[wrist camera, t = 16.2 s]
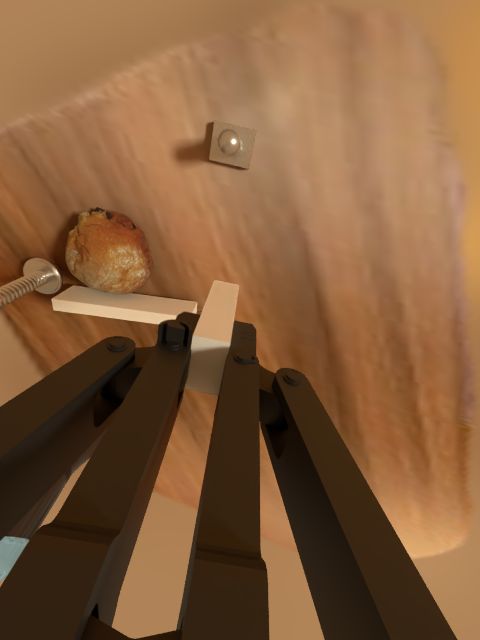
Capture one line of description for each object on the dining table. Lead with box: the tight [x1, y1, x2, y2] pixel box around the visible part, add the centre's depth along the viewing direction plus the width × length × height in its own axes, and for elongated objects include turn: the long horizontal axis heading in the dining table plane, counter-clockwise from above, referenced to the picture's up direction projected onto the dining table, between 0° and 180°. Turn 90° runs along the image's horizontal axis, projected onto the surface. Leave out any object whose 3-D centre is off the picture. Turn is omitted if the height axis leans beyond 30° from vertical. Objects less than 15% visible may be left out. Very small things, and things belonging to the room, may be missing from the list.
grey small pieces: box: [196, 120, 256, 315], centre depth 34 cm, size 4×26×5 cm, turn 168°
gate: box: [52, 285, 197, 324], centre depth 37 cm, size 2×17×5 cm, turn 83°
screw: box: [0, 257, 63, 307], centre depth 33 cm, size 13×5×5 cm
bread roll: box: [65, 207, 153, 294], centre depth 36 cm, size 10×10×8 cm
